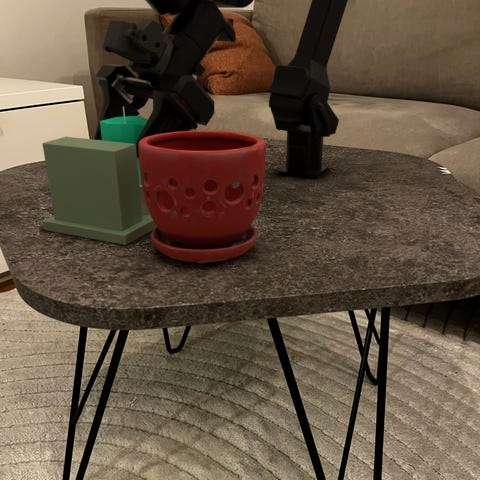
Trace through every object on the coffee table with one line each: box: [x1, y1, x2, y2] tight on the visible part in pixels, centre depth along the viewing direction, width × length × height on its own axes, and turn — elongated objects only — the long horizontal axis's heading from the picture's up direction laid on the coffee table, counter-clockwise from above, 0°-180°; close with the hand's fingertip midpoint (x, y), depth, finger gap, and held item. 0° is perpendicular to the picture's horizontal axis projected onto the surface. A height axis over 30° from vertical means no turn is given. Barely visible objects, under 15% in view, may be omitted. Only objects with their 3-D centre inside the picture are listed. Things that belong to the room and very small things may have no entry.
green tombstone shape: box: [42, 136, 157, 246], centre depth 74 cm, size 18×12×10 cm, turn 154°
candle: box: [100, 106, 148, 185], centre depth 73 cm, size 6×6×12 cm
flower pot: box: [139, 130, 267, 265], centre depth 63 cm, size 13×13×12 cm
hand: (115, 149), depth 72 cm, fingers open, 9 cm apart
